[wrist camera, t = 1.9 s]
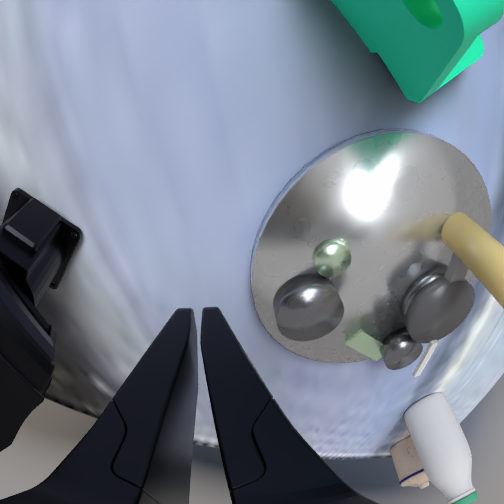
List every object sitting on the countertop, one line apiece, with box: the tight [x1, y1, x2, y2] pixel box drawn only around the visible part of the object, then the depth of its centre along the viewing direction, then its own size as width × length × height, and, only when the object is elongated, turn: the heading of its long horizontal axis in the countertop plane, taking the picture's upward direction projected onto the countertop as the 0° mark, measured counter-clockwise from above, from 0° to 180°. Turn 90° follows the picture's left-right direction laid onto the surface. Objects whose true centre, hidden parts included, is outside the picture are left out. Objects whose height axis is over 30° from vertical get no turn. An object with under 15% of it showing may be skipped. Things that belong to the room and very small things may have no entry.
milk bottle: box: [404, 393, 478, 504], centre depth 33 cm, size 8×8×20 cm
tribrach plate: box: [250, 129, 491, 370], centre depth 23 cm, size 22×22×3 cm
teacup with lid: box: [390, 436, 429, 489], centre depth 46 cm, size 12×9×12 cm
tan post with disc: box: [404, 212, 504, 377], centre depth 21 cm, size 16×7×11 cm, turn 0°
